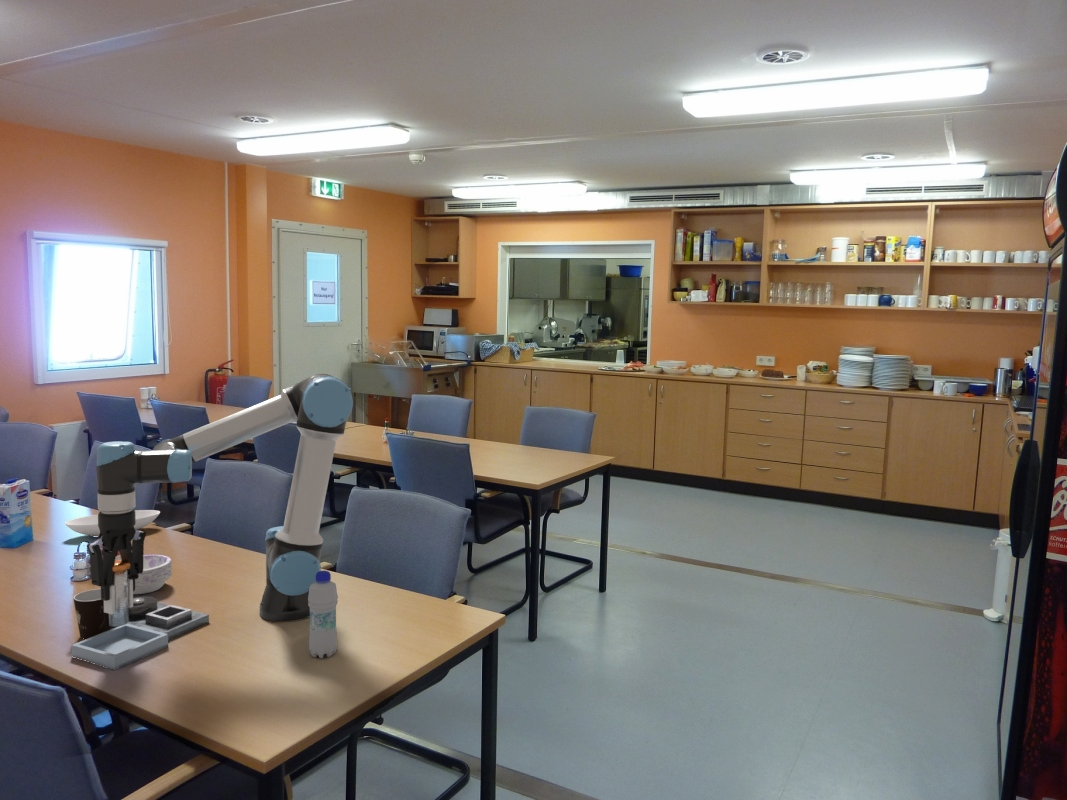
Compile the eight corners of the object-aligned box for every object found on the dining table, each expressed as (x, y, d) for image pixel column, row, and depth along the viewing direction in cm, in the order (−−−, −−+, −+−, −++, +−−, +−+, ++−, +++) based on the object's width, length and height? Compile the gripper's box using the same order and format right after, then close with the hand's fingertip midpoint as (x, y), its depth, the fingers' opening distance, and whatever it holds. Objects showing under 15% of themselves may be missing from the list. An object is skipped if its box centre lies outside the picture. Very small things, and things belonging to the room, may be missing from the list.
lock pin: (136, 621, 177) (135, 561, 175) (116, 629, 172) (115, 568, 171) (121, 617, 179) (119, 558, 177) (100, 624, 174) (99, 564, 173)
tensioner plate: (209, 622, 195) (208, 602, 194) (162, 642, 182) (162, 621, 181) (147, 607, 203) (147, 588, 203) (99, 625, 191) (99, 605, 190)
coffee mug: (78, 629, 188) (77, 590, 187) (118, 625, 191) (116, 587, 190) (68, 649, 177) (67, 607, 176) (110, 644, 180) (109, 603, 179)
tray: (168, 646, 180) (167, 634, 179) (114, 670, 167) (114, 657, 167) (126, 635, 185) (126, 623, 185) (71, 657, 173) (71, 644, 172)
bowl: (155, 523, 285) (154, 507, 285) (165, 532, 274) (165, 515, 273) (62, 535, 266) (61, 518, 266) (69, 546, 255) (68, 528, 254)
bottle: (326, 645, 182) (326, 564, 180) (343, 653, 178) (343, 571, 176) (302, 654, 177) (301, 571, 175) (319, 663, 173) (319, 578, 171)
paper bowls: (99, 595, 211) (98, 567, 210) (139, 577, 226) (139, 551, 225) (146, 601, 208) (145, 573, 207) (184, 583, 222) (183, 556, 222)
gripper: (137, 500, 182) (139, 595, 184) (69, 515, 167) (72, 618, 169) (160, 504, 179) (161, 600, 181) (93, 520, 164) (95, 625, 166)
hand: (118, 609), depth 175 cm, fingers closed on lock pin, 4 cm apart
